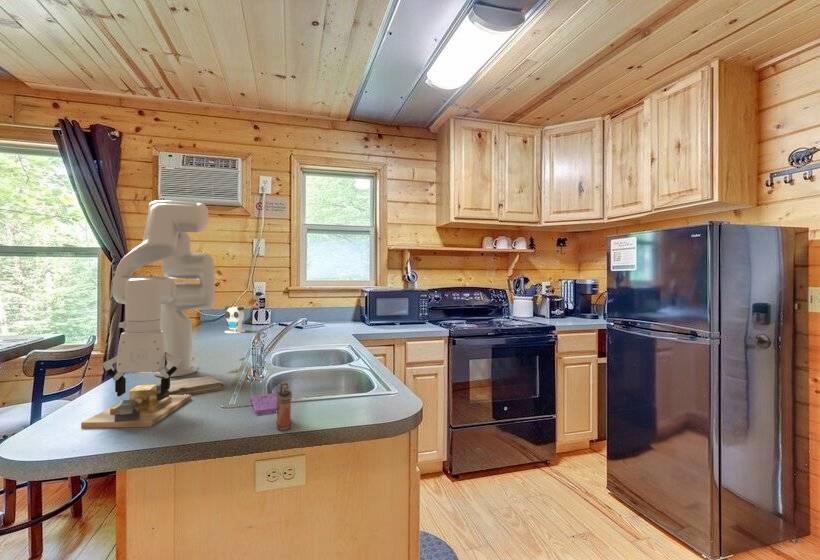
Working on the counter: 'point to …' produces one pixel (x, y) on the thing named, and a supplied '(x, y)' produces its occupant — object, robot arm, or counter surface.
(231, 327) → the panda figurine
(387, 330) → the counter surface
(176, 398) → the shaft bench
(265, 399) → the sponges
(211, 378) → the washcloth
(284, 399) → the amber flat bottle
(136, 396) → the coupler
